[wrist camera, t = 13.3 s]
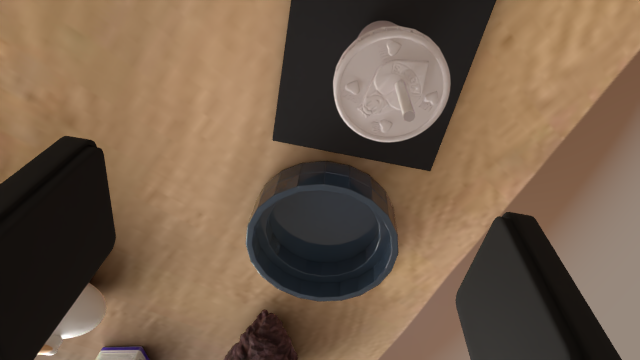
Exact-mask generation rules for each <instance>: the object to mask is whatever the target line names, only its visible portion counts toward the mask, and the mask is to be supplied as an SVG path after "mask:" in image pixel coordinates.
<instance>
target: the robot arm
mask: <svg viewBox="0 0 640 360" xmlns="http://www.w3.org/2000/svg"><path fill="white" fill-rule="evenodd" d="M115 239H116V234H115V227H114V221H113V214H112V207H111V200H110V193H109V187H108V180H107V173H106V166H105V160H104V154H103V151H102V149H101V148H97V146H96V144H95V142H94V141H92V140H88V139H82V138H76V137H70V136H64V137H62V138H60V139H59V140H58V141H56V142H55V143H54V144H52V145H51V146H50V147H49V148H47V149H46V150H45V151H43V152H42V153H41V154H39V155H38V156H37V157H35V158H34V159H33V160H32V161H30V162H29V163H28V164H26V165H25V166H24V167H22V168H21V169H20V170H18V171H17V172H16V173H15V174H13V175H12V176H11V177H9V178H8V179H7V180H5V181H4V182H3V183H1V184H0V360H34V358H35V357H36V356H37V354H38V353H39V351H40V350H41V349H42V347H43V346H44V344H45V343H46V342H47V340H48V339H49V337H50V336H51V335H52V333H53V332H54V330H55V329H56V328H57V326H58V325H59V323H60V322H61V321H62V319H63V318H64V316H65V315H66V314H67V312H68V311H69V309H70V308H71V307H72V305H73V304H74V303H75V301H76V300H77V298H78V297H79V296H80V294H81V293H82V291H83V290H84V289H85V287H86V286H87V284H88V283H89V282H90V280H91V279H92V277H93V276H94V275H95V273H96V272H97V270H98V269H99V268H100V266H101V265H102V263H103V262H104V261H105V259H106V258H107V256H108V255H109V254H110V252H111V251H112V249H113V247H114V244H115ZM456 307H457V311H458V314H459V319H460V322H461V326H462V329H463V333H464V336H465V341H466V344H467V347H468V352H469V355H470V359H471V360H622V359H621V358H620V356H619V354H618V353H617V351H616V350H615V348H614V346H613V345H612V343H611V342H610V340H609V338H608V337H607V335H606V333H605V332H604V330H603V329H602V327H601V325H600V324H599V322H598V320H597V319H596V317H595V315H594V314H593V312H592V310H591V309H590V307H589V306H588V304H587V302H586V301H585V299H584V298H583V296H582V294H581V293H580V291H579V290H578V288H577V286H576V285H575V283H574V281H573V280H572V278H571V276H570V275H569V273H568V271H567V270H566V268H565V267H564V265H563V263H562V262H561V260H560V258H559V257H558V255H557V253H556V252H555V250H554V248H553V247H552V245H551V244H550V242H549V240H548V239H547V237H546V236H545V234H544V232H543V231H542V229H541V227H540V226H539V224H538V222H537V221H536V219H535V218H534V217H532V216H529V215H523V214H517V213H511V212H506V213H505V214H504V215H503V216H502V217H500V216H499V217H496V218H495V220H494V221H493V223H492V225H491V227H490V229H489V231H488V233H487V235H486V237H485V239H484V241H483V243H482V245H481V246H480V249H479V251H478V252H477V254H476V256H475V258H474V260H473V262H472V264H471V266H470V268H469V270H468V272H467V274H466V276H465V278H464V280H463V282H462V284H461V286H460V288H459V290H458V292H457V295H456Z"/></svg>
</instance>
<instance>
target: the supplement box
mask: <svg viewBox="0 0 640 360" xmlns="http://www.w3.org/2000/svg"><path fill="white" fill-rule="evenodd" d="M95 360H149V358H148V356H147V354H146V353H145V351H144V349H143V347H142V346H130V347H103V348H102V349H101V351H100V353H99V354H98V356H97V358H96V359H95Z"/></svg>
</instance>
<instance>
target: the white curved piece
mask: <svg viewBox="0 0 640 360" xmlns="http://www.w3.org/2000/svg"><path fill="white" fill-rule="evenodd" d="M105 313H106V301H105V298H104V296H103V295H102V293H101V292H100V291H99V290H98V289H97V288H96V287H94V286H93V285H91V284H90V283H88V284H87V286H86V287H85V289H84V290H83V291H82V293H81V294H80V296H79V297H78V298H77V300H76V301H75V303H74V304H73V305H72V307H71V308H70V309H69V311H68V312H67V314H66V315H65V316H64V318H63V319H62V321H61V322H60V323H59V325H58V326H57V328H56V329H55V330H54V332H53V333H52V335H51V336H50V337H49V339H48V340H47V342H46V343H45V344H44V346H43V347H42V349H41V350H40V351H39V353H38V354H37V355H40V354H44V355H53V354H55V353H56V352H57V350H58V347H59V346H60V345H61V344H62V341H63V339H65V338H72V337H76V336H80V335H82V334H85V333H87V332H89V331H91V330H92V329H94V328H95V327H96V326H97V325H98V324H99V323H100V322H101V321H102V320H103V318H104V316H105Z"/></svg>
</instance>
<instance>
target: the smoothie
mask: <svg viewBox="0 0 640 360" xmlns="http://www.w3.org/2000/svg"><path fill="white" fill-rule="evenodd" d="M450 85H451V83H450V72H449V68H448V65H447V62H446V60H445V58H444V56H443V54H442V52H441V50H440V48H439V47H438V46H437V45H436V44H435V43H434V42H433V41H432V40H431V39H430V38H429V37H428V36H426V35H424V34H422V33H421V32H419V31H417V30H415V29H411V28H407V27H402V26H397V25H396V24H394V23H392V22H389V21H376V22H373V23H371V24H369V25H367V26H366V27H365V28H364V29H363V30H362V31H361V33H360V34H359V36H358V38H357V39H356V40H355V41H353V43H352V44H351V45H350V46H349V47H348V48H347V49H346V50H345V51H344V53H343V54H342V56H341V58H340V60H339V62H338V64H337V66H336V69H335V74H334V79H333V91H334V99H335V104H336V107H337V110H338V112H339V114H340V116H341V117H342V119H343V120H344V122H345V123H346V124H347V125H348V126H349V127H350V128H351V129H352V130H353V131H355V132H356V133H357V134H359V135H361V136H363V137H365V138H367V139H370V140H374V141H379V142H398V141H403V140H406V139H409V138H412V137H414V136H416V135H418V134H420V133H422V132H423V131H425V130H426V129H427V128H429V127H430V126H431V125H432V124H433V123H434V122H435V121H436V120H437V118H438V117H439V116H440V114H441V113H442V111H443V109H444V108H445V106H446V103H447V101H448V97H449V93H450Z"/></svg>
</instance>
